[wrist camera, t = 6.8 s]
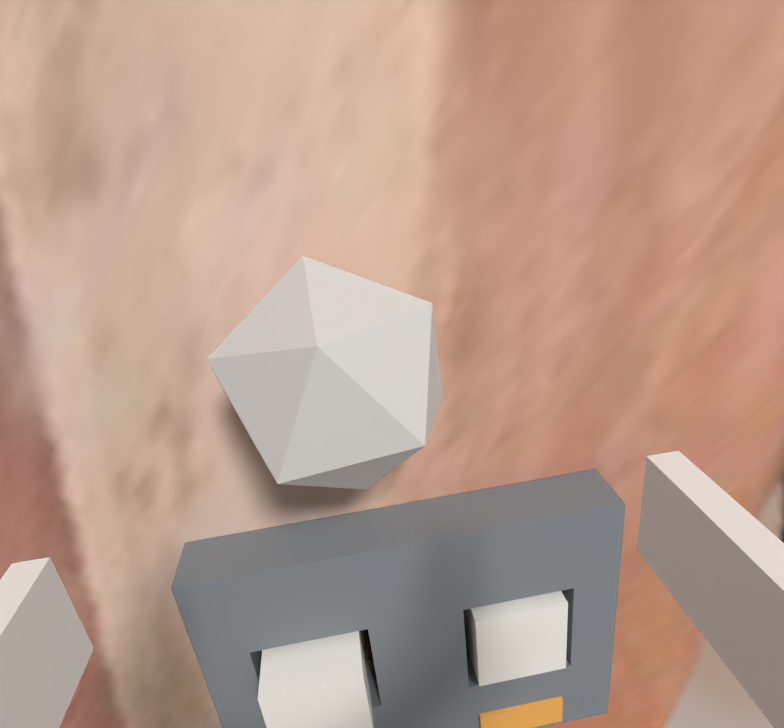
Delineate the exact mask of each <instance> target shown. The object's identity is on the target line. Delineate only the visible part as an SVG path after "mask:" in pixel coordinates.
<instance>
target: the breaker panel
mask: <svg viewBox="0 0 784 728" xmlns="http://www.w3.org/2000/svg"><path fill="white" fill-rule="evenodd" d="M624 514H625V503H624V502H623V500H622V499H621V498H620V497H619V496H618V495H617V493H616V492H615V491H614V490H613V489H612V488H611V486H610V485H609V484H608V483H607V482H606V481H605V479H604V478H603V477H602V476H601V475H600V474H599V472H598V471H597V470H596V469H595V470H589V471H584V472H578V473H572V474H567V475H561V476H556V477H550V478H545V479H539V480H533V481H528V482H522V483H517V484H511V485H506V486H500V487H494V488H489V489H483V490H478V491H472V492H466V493H461V494H455V495H450V496H444V497H439V498H433V499H427V500H422V501H416V502H411V503H405V504H400V505H394V506H388V507H383V508H377V509H372V510H366V511H361V512H355V513H349V514H344V515H338V516H333V517H327V518H321V519H316V520H310V521H305V522H299V523H294V524H288V525H282V526H277V527H271V528H266V529H260V530H255V531H249V532H243V533H238V534H232V535H227V536H221V537H216V538H210V539H204V540H199V541H193V542H188V543H185V545H184V548H183V551H182V555H181V558H180V561H179V564H178V568H177V571H176V574H175V577H174V581H173V584H172V587H171V589H172V592H173V595H174V597H175V600H176V603H177V606H178V608H179V611H180V614H181V616H182V619H183V622H184V624H185V627H186V630H187V633H188V635H189V638H190V641H191V643H192V646H193V649H194V651H195V654H196V657H197V660H198V662H199V665H200V668H201V670H202V673H203V676H204V678H205V681H206V684H207V686H208V689H209V692H210V695H211V697H212V700H213V703H214V705H215V708H216V711H217V713H218V716H219V719H220V722H221V724H222V727H223V728H267V727H266V724H265V721H264V718H263V715H262V712H261V708H260V705H259V702H258V690H259V679H260V668H261V658H262V650H265V649H270V648H276V647H281V646H286V645H291V644H296V643H301V642H306V641H311V640H316V639H321V638H326V637H331V636H336V635H341V634H346V633H351V632H356V631H361V630H366V629H368V633H369V638H370V644H371V650H372V655H373V658H371V659H366V660H365V663H366V668H367V673H368V679H369V684H370V693H371V702H372V712H373V721H374V728H541V727H545V726H550V725H554V724H559V723H563V722H568V721H573V720H577V719H582V718H586V717H591V716H595V715H600V714H604V713H607V711H608V700H609V688H610V676H611V665H612V653H613V642H614V630H615V618H616V607H617V595H618V584H619V572H620V560H621V549H622V537H623V526H624ZM558 591H562V593H563V595H564V597H565V599H566V600H567V602H568V621H567V649H566V668H564V669H560V670H555V671H550V672H545V673H541V674H536V675H531V676H526V677H522V678H517V679H512V680H508V681H503V682H498V683H493V684H489V685H484V686H479V684H478V680H477V677H476V674H475V671H474V667H473V664H472V661H471V658H470V654H469V651H468V648H467V645H466V640H465V627H464V613H463V610H467V609H472V608H477V607H482V606H487V605H492V604H497V603H502V602H507V601H512V600H517V599H522V598H527V597H532V596H537V595H542V594H548V593H553V592H558Z"/></svg>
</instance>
